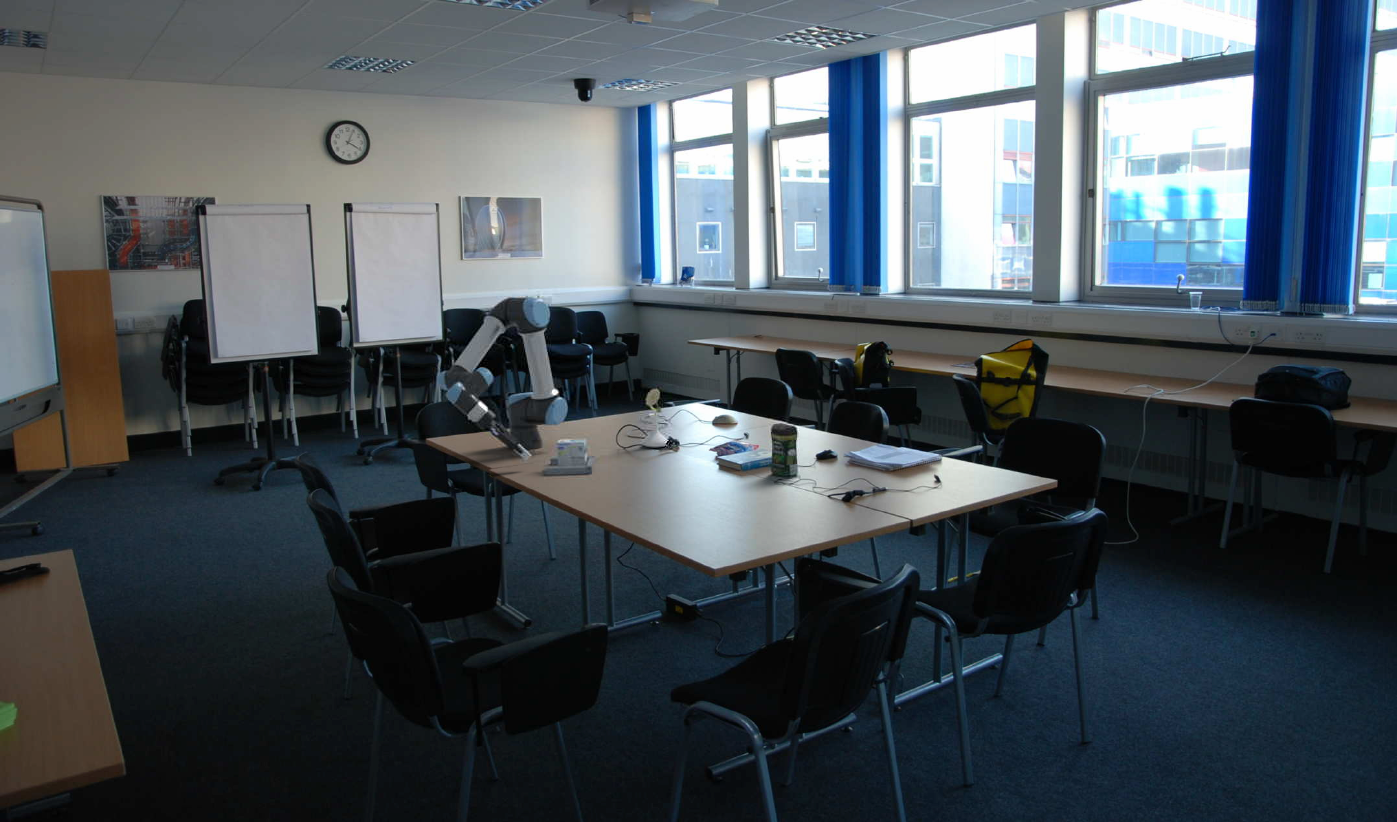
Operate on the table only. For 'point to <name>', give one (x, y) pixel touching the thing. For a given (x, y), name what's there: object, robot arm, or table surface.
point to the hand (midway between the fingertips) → (529, 458)
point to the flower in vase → (654, 422)
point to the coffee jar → (784, 450)
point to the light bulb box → (572, 452)
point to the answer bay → (570, 470)
